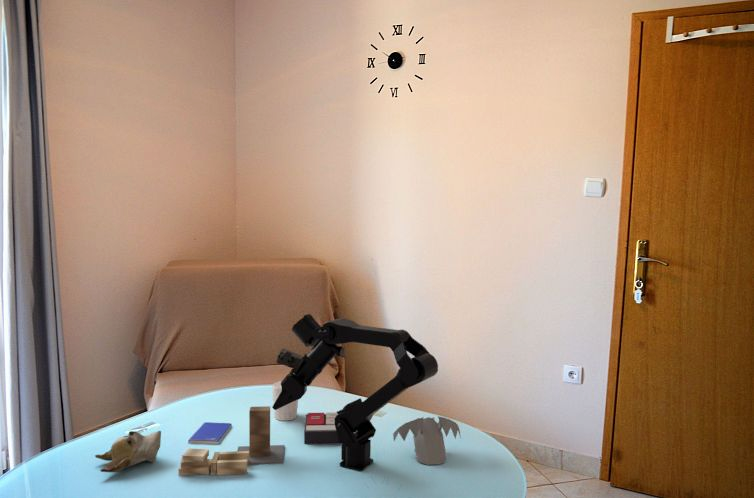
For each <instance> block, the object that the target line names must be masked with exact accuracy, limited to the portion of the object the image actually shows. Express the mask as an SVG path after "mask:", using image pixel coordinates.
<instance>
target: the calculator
mask: <svg viewBox="0 0 754 498" xmlns="http://www.w3.org/2000/svg"><path fill="white" fill-rule="evenodd" d="M337 415H338V414H337V412H326V413H325V412H308V413H306V415H305V423H304V433H303V434H304V435H303V436H304V437H303V438H304V439H303V440H304V441H303V444H304V445H334V444H335V445H342V444H341V443H339V439H338V435H337V432H336V428H335V420H334V419H335V417H336V416H337Z"/></svg>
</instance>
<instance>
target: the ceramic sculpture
mask: <svg viewBox="0 0 754 498" xmlns="http://www.w3.org/2000/svg"><path fill="white" fill-rule="evenodd" d="M161 438H162V431H161V430H157V431H154V432H151V433H149V434H147V435H142V433H140V432H139V431H135V430H134V431H133V430H132V431H128V435H124V436H121V437H118V438H117V439H116V440H114V442H113V443H112V445H111V446H110V449H109V451H106V452H104V453H103V454H95V455H94V457H95V458H96V459H100V460H103V461H106V462H107V461H108V463H107V464H106V465H105V466H104V467H103V468H101V469H100V470H99V471H100V473H101V472H102V473H118V472H121V471H122V470H123V469H125V468H129V467H132V466H134V465H137V464H139V463H141V462H144V461H148V462H150V463H154V462H155V460H156V458H157V457H158V456H157V455H158V452H159V450H160V448H161V441H162V440H161Z"/></svg>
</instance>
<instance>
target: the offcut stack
mask: <svg viewBox="0 0 754 498" xmlns="http://www.w3.org/2000/svg"><path fill="white" fill-rule="evenodd" d="M209 456H210V449H209V448H188V449H187V450H186V452H184V453H183V454H181V459H180V465H179V466H178V469H177V470H178V472H177V473H178V476H191V475H193V476H195V475H210V473H211V461H212V458H209Z"/></svg>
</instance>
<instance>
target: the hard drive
mask: <svg viewBox="0 0 754 498" xmlns="http://www.w3.org/2000/svg"><path fill="white" fill-rule="evenodd" d="M232 425H233V424H232V423H231V422H230V423H229V422H210V421H209V422H204V423H202V424H201V425H200V427H199V428H198V429H197V430H196V431H195V432H194V433H193V434H192V436H191V437H189V439H188V442H187V444H198V445H200V444H201V445H202V444H204V445H219V444H220V442H221V441H222V440H223V438H224V437H225V436H226V435H227V433H228V432H229V431H230V430H231V428H232Z"/></svg>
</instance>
